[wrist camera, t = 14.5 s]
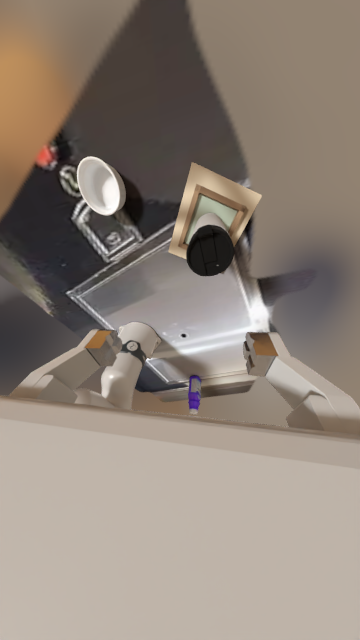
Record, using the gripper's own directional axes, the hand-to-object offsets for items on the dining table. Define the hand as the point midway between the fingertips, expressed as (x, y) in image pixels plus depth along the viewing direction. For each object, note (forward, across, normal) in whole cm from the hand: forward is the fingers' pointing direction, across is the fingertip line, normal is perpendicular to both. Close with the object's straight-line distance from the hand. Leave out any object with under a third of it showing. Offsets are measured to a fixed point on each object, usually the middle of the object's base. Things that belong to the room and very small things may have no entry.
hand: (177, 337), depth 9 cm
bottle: (+36, +2, +71) cm, 80 cm away
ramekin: (+36, +20, -10) cm, 42 cm away
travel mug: (+34, -3, -1) cm, 34 cm away
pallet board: (+35, -3, -1) cm, 35 cm away
